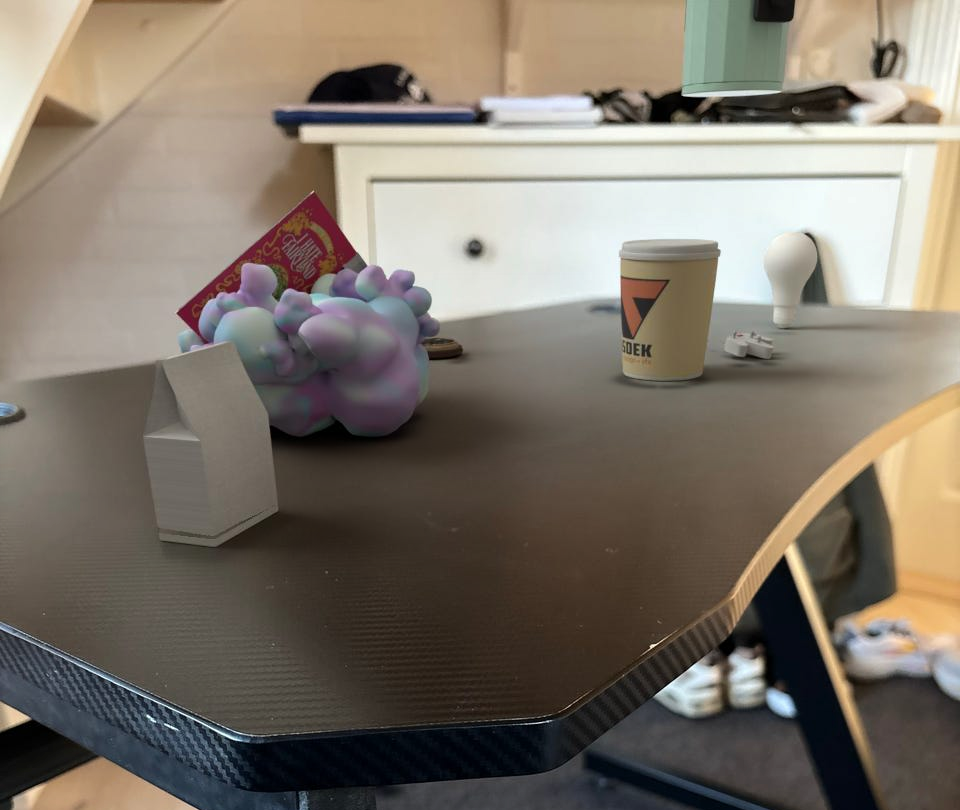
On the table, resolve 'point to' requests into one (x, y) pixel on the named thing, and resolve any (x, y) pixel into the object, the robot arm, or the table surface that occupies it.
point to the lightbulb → (789, 273)
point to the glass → (731, 50)
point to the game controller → (749, 345)
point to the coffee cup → (666, 306)
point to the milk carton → (208, 446)
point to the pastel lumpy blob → (318, 328)
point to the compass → (441, 347)
